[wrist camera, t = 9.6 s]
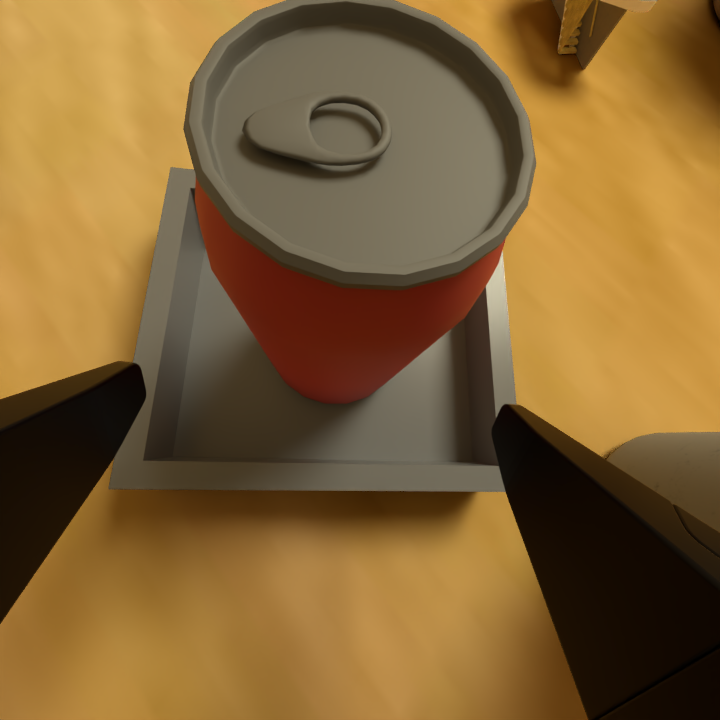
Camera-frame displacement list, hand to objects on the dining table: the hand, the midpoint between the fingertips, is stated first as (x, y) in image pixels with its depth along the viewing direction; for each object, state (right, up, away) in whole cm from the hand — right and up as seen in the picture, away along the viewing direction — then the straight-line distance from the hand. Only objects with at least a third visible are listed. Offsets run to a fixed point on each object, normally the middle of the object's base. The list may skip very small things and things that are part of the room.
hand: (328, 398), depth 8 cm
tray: (-1, +2, +9) cm, 10 cm away
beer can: (0, +2, +9) cm, 9 cm away
